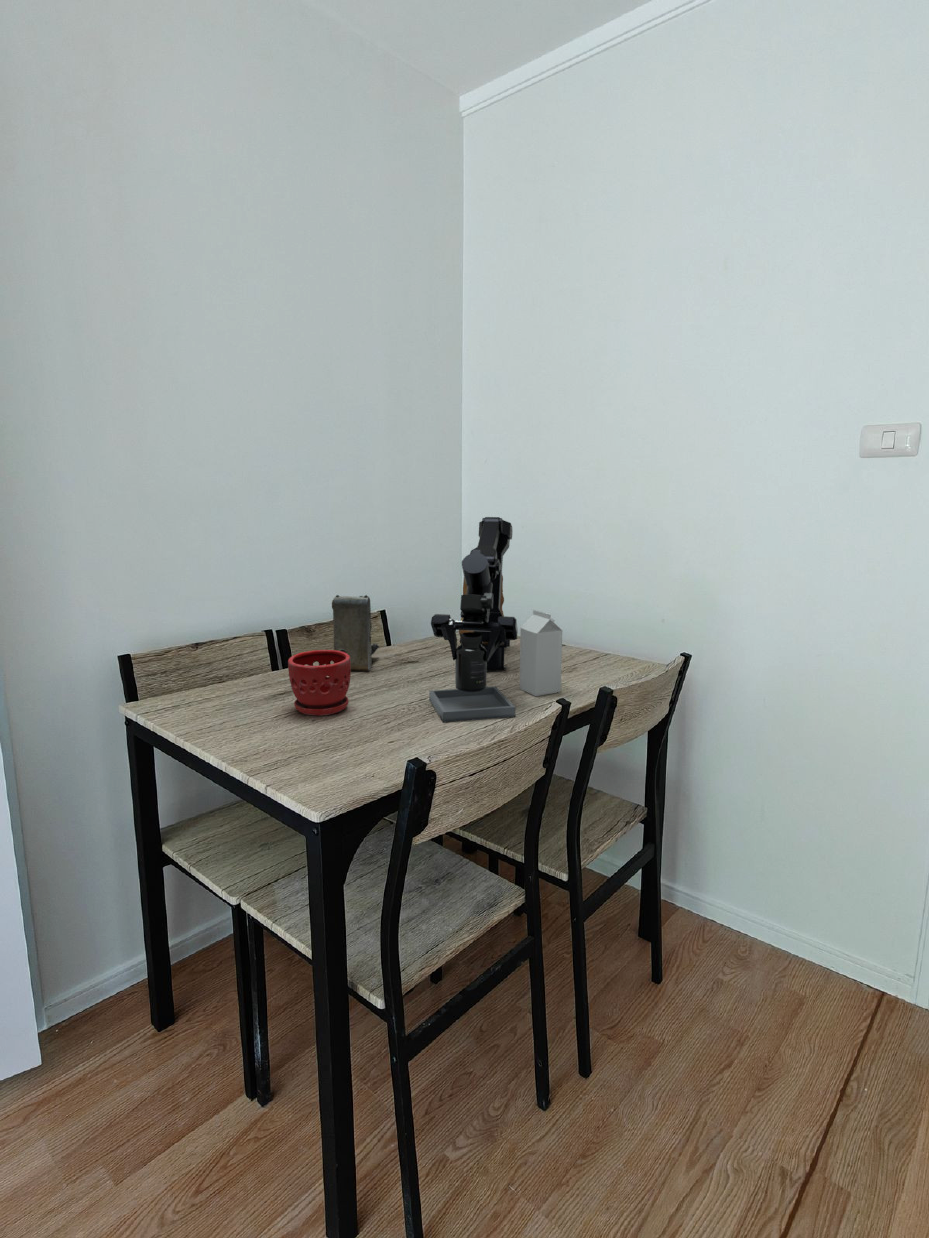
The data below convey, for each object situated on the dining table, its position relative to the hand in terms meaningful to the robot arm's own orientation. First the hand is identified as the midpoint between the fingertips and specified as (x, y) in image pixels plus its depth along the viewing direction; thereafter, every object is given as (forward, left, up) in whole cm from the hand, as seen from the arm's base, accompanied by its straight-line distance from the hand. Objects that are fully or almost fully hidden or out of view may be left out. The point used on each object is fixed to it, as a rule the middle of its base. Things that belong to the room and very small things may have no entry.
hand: (470, 660), depth 154 cm
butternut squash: (-16, -53, -11) cm, 57 cm away
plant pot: (+32, -7, -11) cm, 34 cm away
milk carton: (-19, -10, -11) cm, 25 cm away
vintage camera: (+21, -44, -11) cm, 50 cm away
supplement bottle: (-1, -1, -7) cm, 7 cm away
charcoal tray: (0, -1, -11) cm, 11 cm away
